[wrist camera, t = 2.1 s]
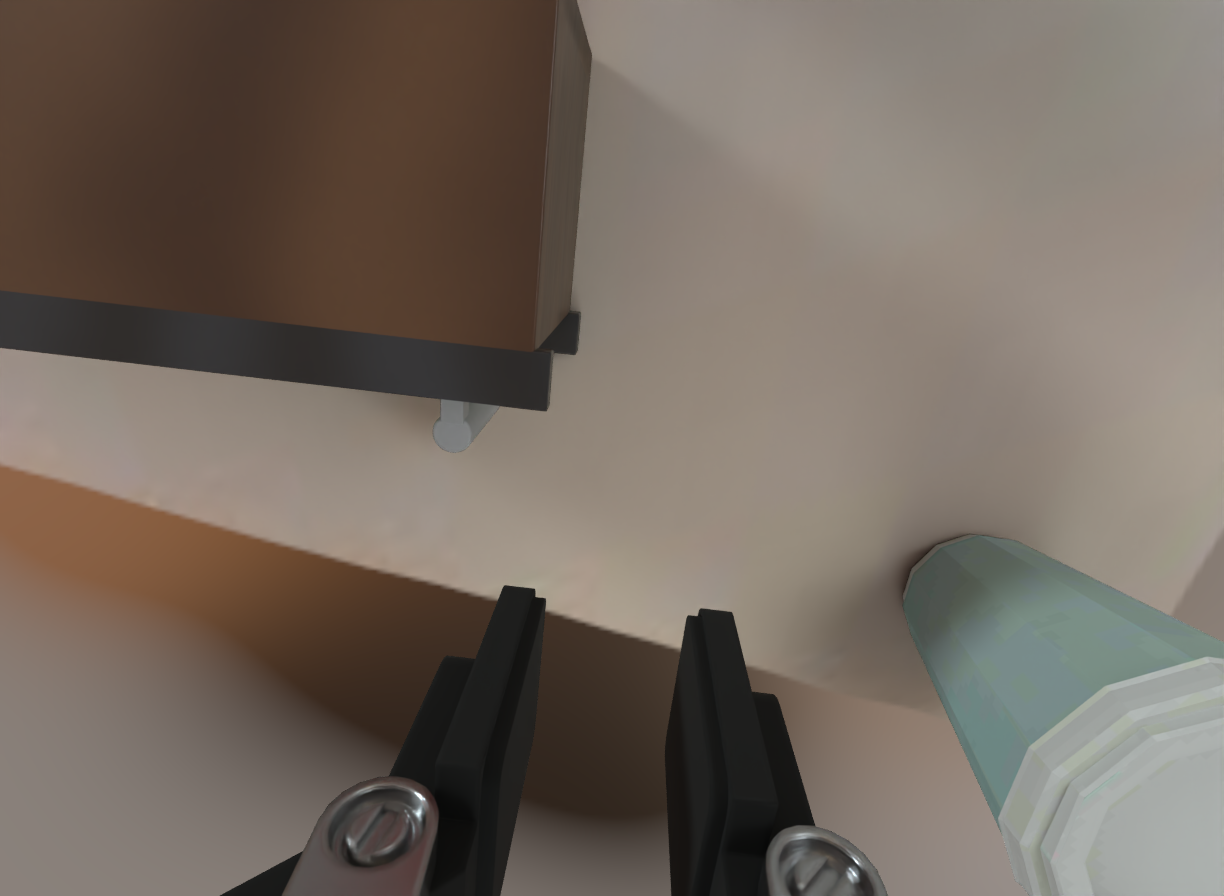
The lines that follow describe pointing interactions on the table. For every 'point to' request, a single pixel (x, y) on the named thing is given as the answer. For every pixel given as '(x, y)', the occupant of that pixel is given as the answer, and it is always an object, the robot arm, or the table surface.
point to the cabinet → (297, 189)
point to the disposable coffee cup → (1077, 720)
